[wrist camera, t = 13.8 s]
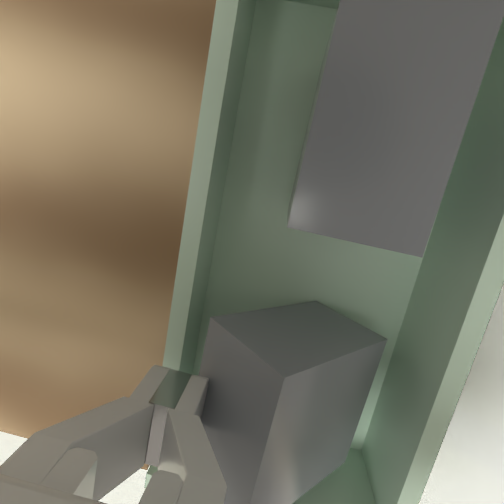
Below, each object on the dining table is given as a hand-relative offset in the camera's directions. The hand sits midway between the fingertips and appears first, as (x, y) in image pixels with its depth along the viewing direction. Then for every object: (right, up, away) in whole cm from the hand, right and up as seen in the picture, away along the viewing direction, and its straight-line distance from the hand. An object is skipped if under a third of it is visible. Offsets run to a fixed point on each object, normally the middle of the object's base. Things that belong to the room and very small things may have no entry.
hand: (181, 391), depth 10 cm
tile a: (+4, +8, -1) cm, 8 cm away
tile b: (+2, 0, +2) cm, 3 cm away
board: (-5, +6, +4) cm, 9 cm away
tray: (+5, +4, +3) cm, 7 cm away
